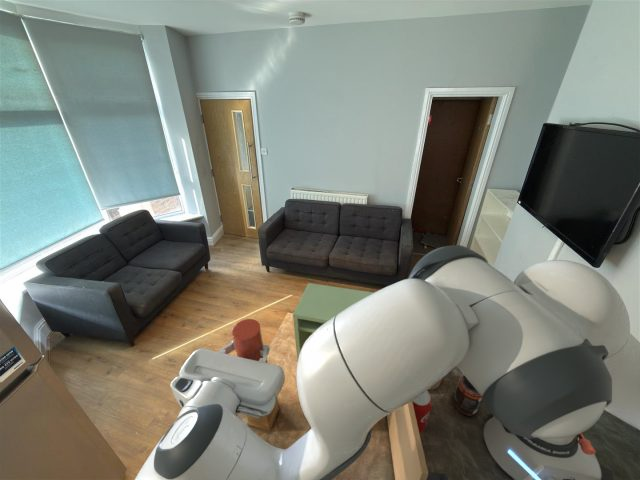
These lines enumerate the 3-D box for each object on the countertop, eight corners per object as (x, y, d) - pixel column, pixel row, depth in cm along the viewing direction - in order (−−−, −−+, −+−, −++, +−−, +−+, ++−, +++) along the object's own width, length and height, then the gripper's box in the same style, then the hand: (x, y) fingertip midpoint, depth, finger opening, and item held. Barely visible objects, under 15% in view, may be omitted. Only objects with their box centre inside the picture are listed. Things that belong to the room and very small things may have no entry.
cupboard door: (407, 397, 73) (420, 336, 62) (435, 535, 50) (465, 477, 39) (384, 396, 74) (393, 335, 63) (402, 531, 51) (421, 473, 39)
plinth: (279, 407, 72) (272, 364, 63) (270, 431, 67) (261, 387, 58) (259, 402, 73) (249, 359, 65) (248, 424, 68) (237, 381, 60)
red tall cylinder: (270, 358, 62) (264, 321, 57) (259, 380, 57) (251, 342, 52) (249, 353, 64) (240, 316, 58) (236, 374, 59) (226, 337, 53)
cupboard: (386, 393, 74) (395, 332, 63) (298, 373, 81) (292, 314, 69) (387, 353, 86) (396, 295, 75) (311, 338, 93) (308, 282, 81)
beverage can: (426, 438, 64) (435, 410, 59) (400, 433, 66) (406, 405, 60) (423, 412, 70) (430, 384, 64) (398, 407, 71) (404, 379, 65)
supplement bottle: (481, 416, 69) (493, 390, 63) (458, 416, 69) (468, 390, 63) (470, 394, 74) (480, 368, 69) (448, 394, 74) (457, 368, 69)
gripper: (265, 410, 42) (294, 342, 54) (162, 381, 47) (209, 325, 59) (270, 431, 45) (296, 362, 57) (172, 402, 50) (215, 345, 62)
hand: (251, 343), depth 58 cm, fingers closed on red tall cylinder, 6 cm apart
